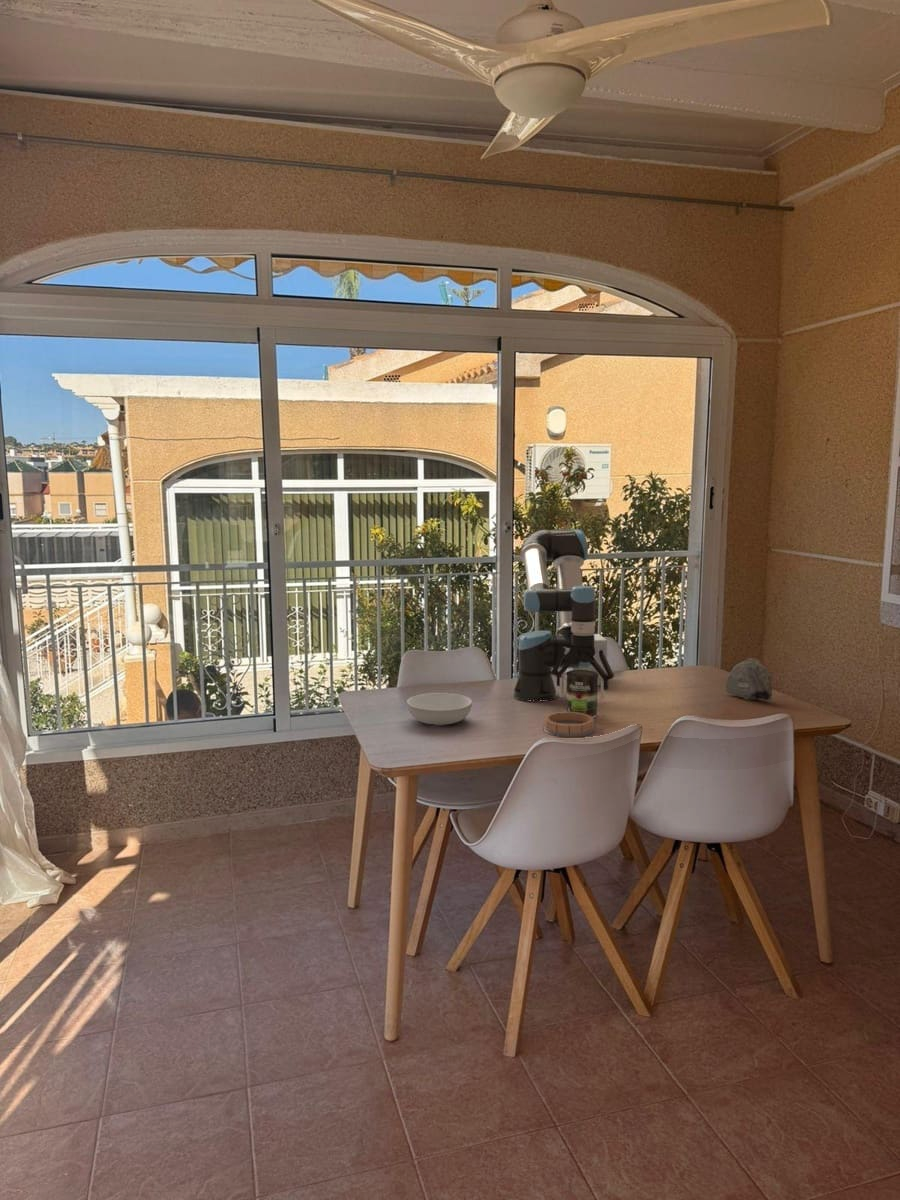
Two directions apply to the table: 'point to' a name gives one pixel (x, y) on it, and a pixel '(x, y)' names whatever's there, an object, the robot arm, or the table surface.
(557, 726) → the collar
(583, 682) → the coffee can
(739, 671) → the decorative rock
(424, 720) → the serving bowl
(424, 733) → the table surface
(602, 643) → the supplement box
